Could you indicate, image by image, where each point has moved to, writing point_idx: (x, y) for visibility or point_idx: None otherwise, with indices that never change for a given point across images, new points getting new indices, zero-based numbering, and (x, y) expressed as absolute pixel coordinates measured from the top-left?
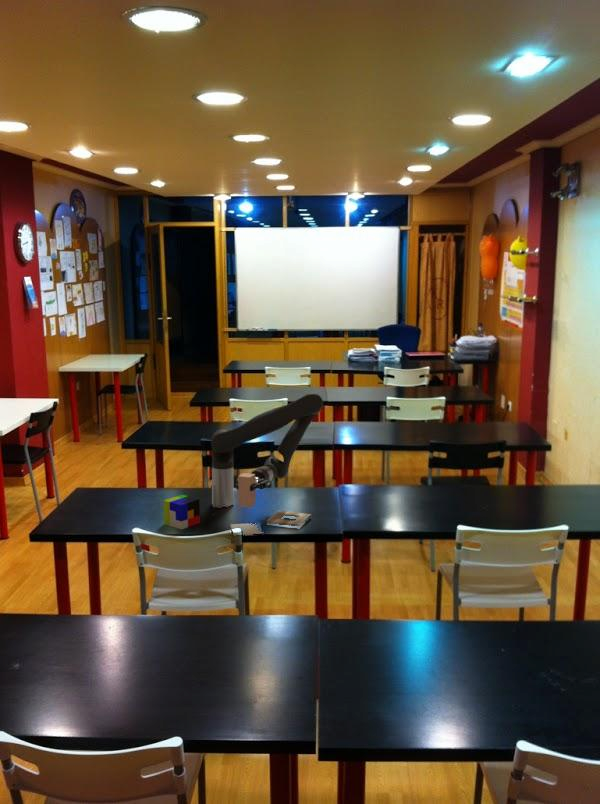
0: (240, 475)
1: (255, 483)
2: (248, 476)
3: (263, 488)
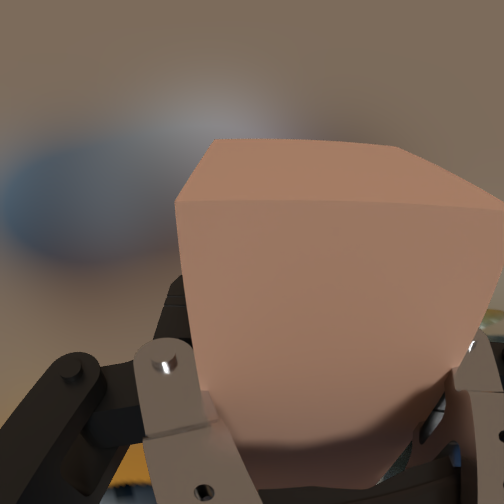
0: (399, 152)
1: (175, 343)
2: (255, 144)
3: (77, 448)
